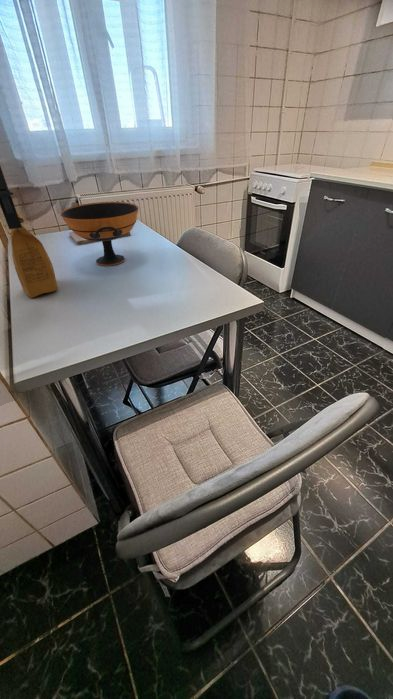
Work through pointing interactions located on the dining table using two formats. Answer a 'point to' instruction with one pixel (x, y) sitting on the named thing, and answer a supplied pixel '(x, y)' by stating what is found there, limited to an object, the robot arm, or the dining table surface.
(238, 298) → the dining table surface
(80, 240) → the chopping board
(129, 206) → the footed pedestal bowl
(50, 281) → the coffee package
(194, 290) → the dining table surface
